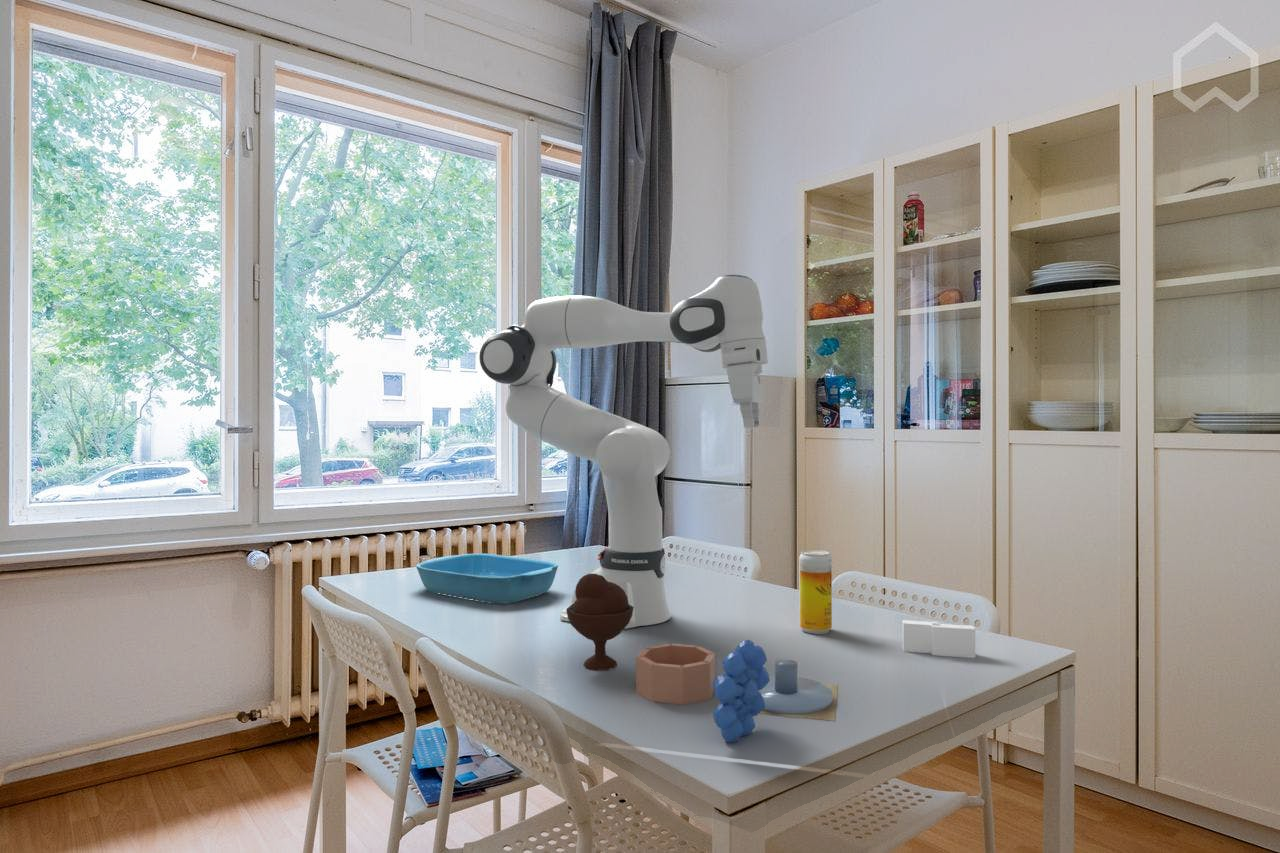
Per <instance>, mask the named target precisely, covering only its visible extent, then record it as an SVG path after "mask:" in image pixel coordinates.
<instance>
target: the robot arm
mask: <svg viewBox="0 0 1280 853" xmlns="http://www.w3.org/2000/svg"><path fill="white" fill-rule="evenodd" d="M762 306H763V305H762V301H761V295H760V291H759V288H758V284H757V283H756V282H755V281H754V280H753V279H752V278H751V277H748V276H745V275H741V274H725V275H722V276H719V277H717V278H716V280H714V282H713V283H711V285H709V286H708V287H707V288H705V289H704V290H702V291H701V292H699V293H697V294H695V295H693V296H690V297H688V298H685V299H683V300H681V301H680V302H677V304H676V305H674V307H673V309H672V310H671V312H661V311H660V312H659V311H658V312H655V311H654V312H653V311H642V310H641V311H640V310H636V309H633V308H630V307H627V306H624V305H622V304H619V303H617V302H614V301H612V300H609V299H606V298H602V297H597V296H591V295H561V296H560V295H559V296H551V297H547V298H541V299H538V300H537V299H536V300H535V301H533V302H531V303H530V304H529V305H528V307H527V308H526V311H525V313H524V318H523V324H522V325H521V326H520V325H518V324H512V325H510V326H509V327H507V328H505V329H504V330H502V331H500V332H497V333H495V334H493V335H492V336H490V337H489V338H487V340H485V342H484V343H483V345H481V348H480V350H479V364H480V367H481V369H482V371H483V372H484V374H485V375H486V376H487V377H489V378H490V379H492V380H493V381H495V382H497V383H498V384H499V383H500V384H505V385H508V390H509V395H508V397H507V399H506V404H505V411H506V415H507V417H508V419H509V420H510V421H511V422H512V423H513V424H514V425H516V426H517V427H518V428H520V429H521V430H523V431H524V432H525V433H528V434H529V435H531V436H533V437H535V438H537V439H539V440H540V441H542V442H545V443H546V444H549V445H551V446H553V447H555V448H557V449H559V450H562V451H564V452H566V453H568V454H570V455H573V456H574V457H577V458H580V459H581V458H582V459H584V460H588V461H591V462H593V463H596V464H597V468H598V469H599V471H600V472H601V473H600V474H601V477H602V483H603V488H604V493H605V497H606V504H607V505H606V506H607V513H608V514H607V515H608V546H606V547H604V548H603V550H602V551H600V553H599V554H597V556H598V557H597V561H599V564H600V566H599V567H597V568H596V569H595V570H594V571H592V572H591V573H590V574H598V575H602V576H603V577H604V578H605V579H606V580H607V582H612V583H614V584H617V585H618V586H620V587H621V588H622V589H623V590H624V591H625V593H626V595H627V597H628V604H629V605H631V606H633V607H634V609H633V614H632V617H631V620H630V622H629V624H628V625H627V626H626V627H625V628H624V629H623V630H626V629H631V628H635V627H640V626H641V627H642V626H651V625H657V624H661V623H665V622H667V621H668V620H670V619H671V617H672V616H671V613H670V611H669V610H670V608H669V605H668V601H667V596H666V589H665V578H664V576H665V574H666V554H665V548H663V509H662V508H663V507H661V504H660V500H659V495H658V490H657V483H656V481H657V480H656V477H657V476H658V475H659V474H661V473H662V472H663V471H664V469H665V468H666V467H667V465H668V462H669V460H670V456H671V450H670V449H671V448H670V445H669V443H668V441H667V440H666V438H665V437H664V436H663V435H662V434H661V433H660V432H658V431H656V430H655V429H652V428H650V427H647V426H645V425H643V424H641V423H638V422H635V421H632V420H629V419H627V418H624V417H622V416H619V415H616V414H614V413H611V412H608V411H606V410H603V409H601V408H597V407H595V406H594V405H591V404H589V403H586V402H584V401H582V400H580V399H578V398H575V397H574V396H571V395H568V394H566V393H564V392H561V391H559V390H557V389H555V388H553V387H552V386H553V385H554V375H555V373H556V370H557V356H556V353H555V350H559V349H594V348H601V347H609V346H613V345H614V346H615V345H621V344H628V343H629V344H630V343H635V342H651V343H652V342H653V343H677V344H684V345H686V346H689V347H691V348H693V349H695V350H698V351H699V352H703V353H713V352H716V351H718V350H720V353H721V361H722V363H721V364H722V368H723V369H726V373H727V374H726V375H727V378H728V383H729V384H728V385H729V389H730V395H731V397H732V401H733V403H734V404H736V405H739V409H740V412H741V413H740V414H741V417H742V422H743V428H745V429H747V428H749V429H750V428H758V427H760V426H761V425H760V424H761V422H760V405H762V404H763V403H764V394H763V392H764V391H763V385H762V384H763V382H762V378H761V373H763V366H764V365H766V364H768V363H769V359H768V358H769V357H768V353H767V352H768V351H767V350H768V349H767V343H766V336H765V334H764V331H763V321H764V320H763V319H764V316H763V313H764V312H763V307H762ZM575 590H576V587H575V588H574V590H573V593H572V594H573V595H572V599H571V604H570V605H568V606H567V607H565V608H564V609H562V611H561V612H560V620H561V621H563V622H569V623H570V621H569V619H568V616H567V611H566V609H567V608H568V607H569V606H571V605H572V604H574V602H575V601H576V600H577V598H576V594H575Z"/></svg>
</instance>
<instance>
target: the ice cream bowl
mask: <svg viewBox="0 0 1280 853" xmlns="http://www.w3.org/2000/svg"><path fill="white" fill-rule="evenodd" d="M575 588H576V590H575V589H574V590H575V594H576V598H577V600H576V601H575V602H574V604H572V603H571V604H572V605H571V604H570V605H571V606H570V605H568V606H569V607H568V606H567V607H568V608H567V609H566V611H567V616H568V619H569V621H570V622H569V621H568V622H569V623H570V626H572V627H573V628H574V629H575V630H576V631H577V633H579V634H580V635H581V636H583V637H584V638H586V640H590V641H592V642H593V643H594V654H593V655H591V656H590V657H588V658H586V660H585V661H584V662H583V664H582V665H583V667H584V668H585V669H586V670H591V671H608V670H612V669H616V667H617V665H618V663H617V661H616V660H615V659H614V658H613V657H611V656H609V655H607V653H606V644H607V642H608V641H610V640H612V639H615V637H617V636H619V635H620V634H621V633H622V631H624V630H625V629H624V628H625V627H626V626H627V625H628V624H629V622H630V620H631V617H632V614H633V609H634V607H633V606H631V605H629V604H628V597H627V595H626V593H625V591H624V590H623V589H622V588H621V587H620V586H618V585H617V584H614V583H612V582H607V580H606V579H605V578H604V577H603V576H602V575H598V574H591V573H588V574H585V575H582V577H581V578H580V579H579V580H578V581H577V583H576V585H575Z"/></svg>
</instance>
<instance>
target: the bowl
mask: <svg viewBox="0 0 1280 853" xmlns="http://www.w3.org/2000/svg"><path fill="white" fill-rule="evenodd" d="M635 657H636V658H635V678H636V679H635V685H636V686H635V689H636V690H635V691H636V693H638V694H639V695H641V696H643V697H644V698H646V700H649V701H650V702H654V703H664V704H665V703H666V704H671V705H672V704H674V705H688V704H692V703H697V702H702V701H705V700H707V701H708V700H711V697H712V695H713V693H715V692H714V688H713V682H714V681H715V679H716V678H717V677H716V676H717V675H716V672H717V671H716V670H717V669H716V666H717V664H716V663H717V661H716V653H715V652H713V651H711V650H709V649H707V648H704V647H702V646H700V645H695V644H694V645H693V644H683V643H682V644H679V643H665V644H659V645H654V646H648V647H647V646H646V647H644V648H643V649H642V650H640V652H639V653H638V654H637V655H636V656H635Z"/></svg>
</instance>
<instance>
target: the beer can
mask: <svg viewBox="0 0 1280 853" xmlns="http://www.w3.org/2000/svg"><path fill="white" fill-rule="evenodd" d="M832 568H833V567H832V556H831V555H830V552H829V551H826V550H816V549H813V550H812V549H809V550H806V549H805V550H803V551H801V552H800V555H799V557H798V600H799V601H798V610H799V611H798V624H799V625H798V626H799V627H800V628H801V631H802V630H803V631H802V632H804V633H808V634H812V633H813V634H814V635H822V634H828V633H829V632H830V630H831V629H832V626H833V624H832V623H833V621H832V620H833V619H832V618H833V617H832V616H833V615H832V613H833V612H832V610H833V609H832V607H833V603H832V602H833V600H832V596H833V595H832V592H833V591H832V588H833V587H832V584H833V583H832V579H833V578H832V576H833V574H832V571H833V569H832ZM813 634H812V635H813Z"/></svg>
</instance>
